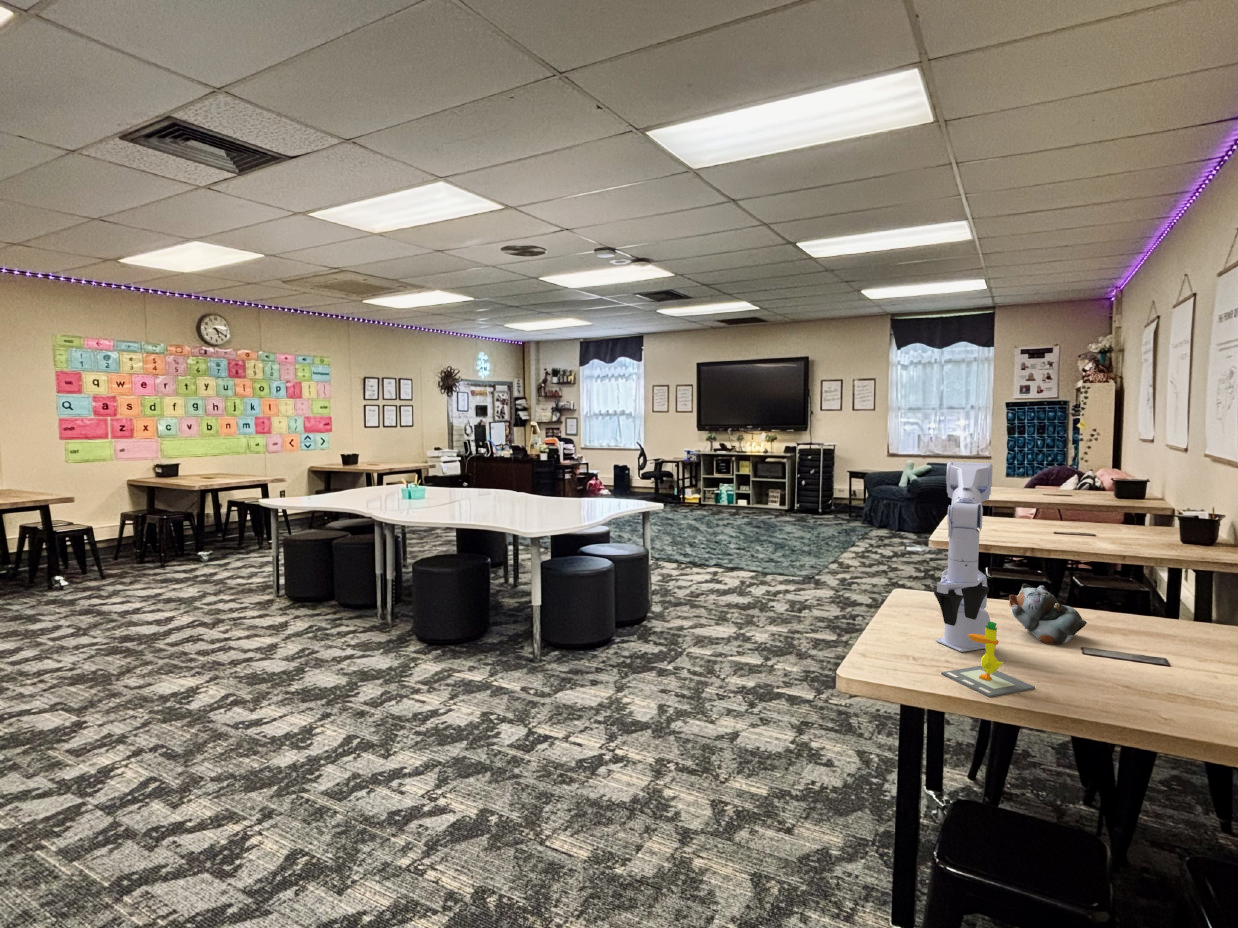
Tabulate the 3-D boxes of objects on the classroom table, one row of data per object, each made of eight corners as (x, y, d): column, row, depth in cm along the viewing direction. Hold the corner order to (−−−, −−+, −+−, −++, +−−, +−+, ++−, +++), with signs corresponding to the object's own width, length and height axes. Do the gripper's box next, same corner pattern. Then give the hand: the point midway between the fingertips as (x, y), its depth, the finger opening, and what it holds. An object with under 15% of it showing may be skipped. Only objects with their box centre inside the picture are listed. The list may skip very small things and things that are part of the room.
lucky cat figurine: (1060, 649, 155) (1028, 594, 158) (1017, 652, 166) (988, 600, 169) (1098, 622, 161) (1067, 569, 164) (1054, 627, 172) (1026, 577, 174)
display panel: (984, 666, 145) (984, 664, 145) (1035, 688, 134) (1035, 686, 134) (941, 673, 141) (941, 671, 141) (989, 697, 130) (989, 694, 130)
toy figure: (964, 676, 139) (966, 619, 138) (969, 671, 141) (972, 615, 140) (1000, 685, 134) (1003, 627, 133) (1005, 680, 137) (1008, 623, 136)
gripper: (965, 551, 150) (962, 610, 151) (924, 559, 142) (922, 621, 143) (996, 557, 144) (993, 619, 145) (956, 566, 136) (953, 631, 137)
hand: (960, 621), depth 144 cm, fingers open, 7 cm apart
